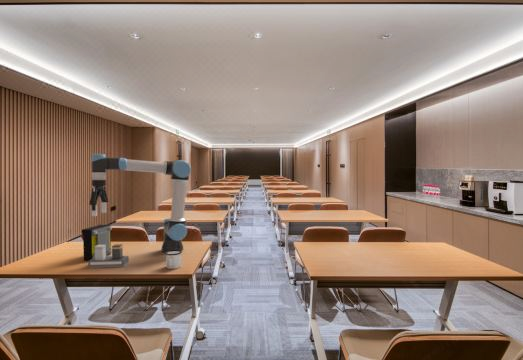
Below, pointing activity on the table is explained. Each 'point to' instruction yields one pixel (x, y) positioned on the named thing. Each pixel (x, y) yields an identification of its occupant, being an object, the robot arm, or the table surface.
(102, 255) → the white rectangular block
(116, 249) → the plug
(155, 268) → the table surface
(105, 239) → the electrical component
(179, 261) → the mug
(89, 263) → the pdu strip
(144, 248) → the table surface
